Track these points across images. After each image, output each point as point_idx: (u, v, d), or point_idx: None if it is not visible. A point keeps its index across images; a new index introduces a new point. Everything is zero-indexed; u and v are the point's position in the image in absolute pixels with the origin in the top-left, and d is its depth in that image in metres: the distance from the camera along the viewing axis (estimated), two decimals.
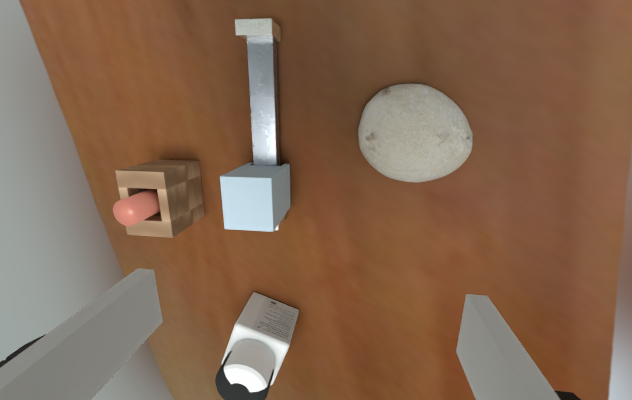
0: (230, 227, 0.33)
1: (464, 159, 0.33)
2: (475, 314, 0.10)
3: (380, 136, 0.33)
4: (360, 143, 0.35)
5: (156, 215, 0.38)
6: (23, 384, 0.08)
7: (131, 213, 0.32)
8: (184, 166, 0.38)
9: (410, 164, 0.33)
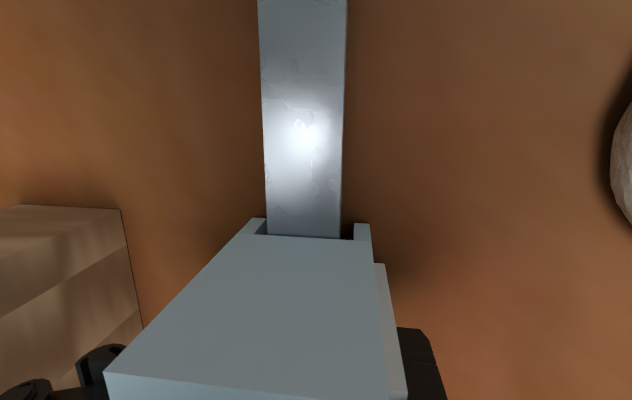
0: None
1: None
2: None
3: None
4: None
5: None
6: None
7: None
8: (50, 241, 0.12)
9: None
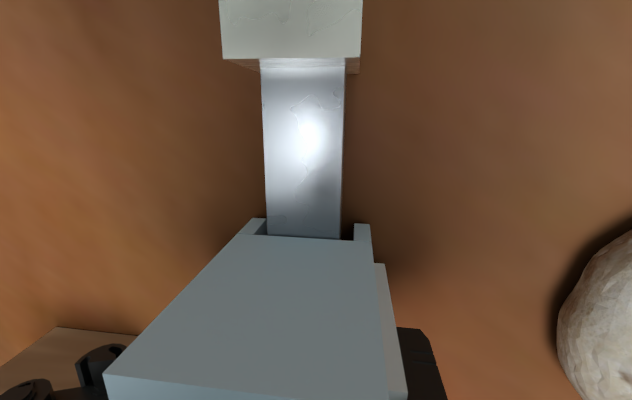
0: None
1: None
2: None
3: None
4: (579, 365, 0.12)
5: None
6: None
7: None
8: None
9: None
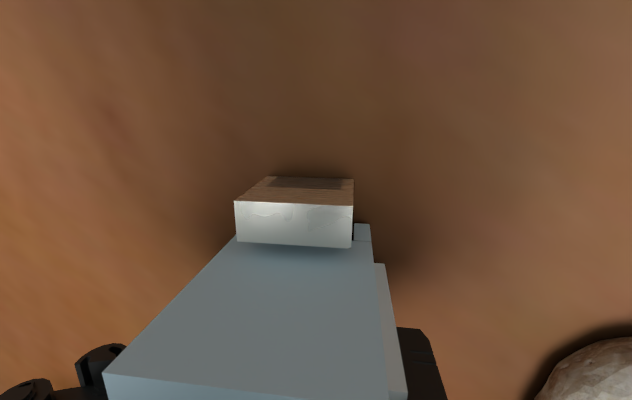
0: None
1: None
2: None
3: None
4: None
5: None
6: None
7: None
8: None
9: None
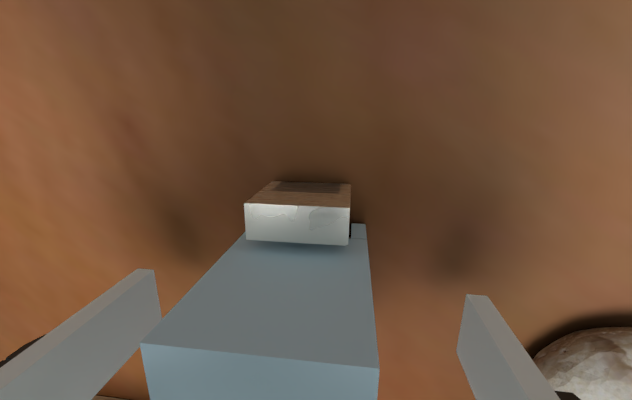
0: None
1: None
2: (475, 314, 0.10)
3: None
4: None
5: None
6: (23, 384, 0.08)
7: None
8: None
9: None
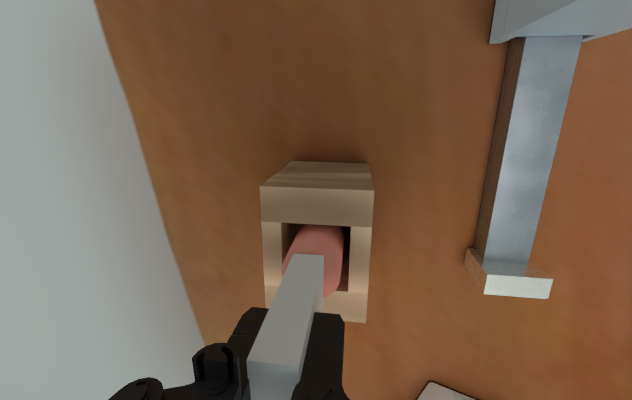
0: None
1: None
2: (305, 267, 0.13)
3: None
4: None
5: None
6: None
7: None
8: None
9: None
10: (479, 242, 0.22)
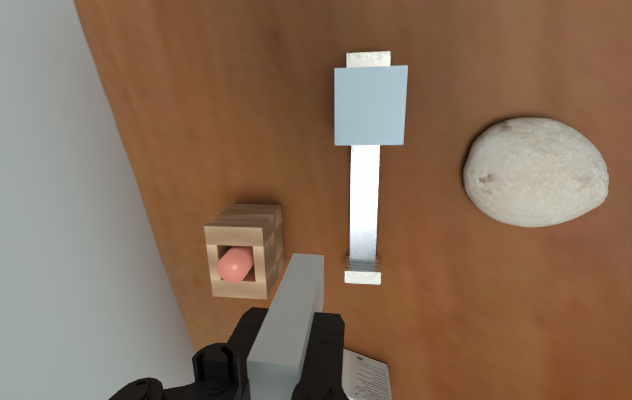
0: (343, 142, 0.25)
1: (600, 203, 0.28)
2: (305, 267, 0.13)
3: (501, 179, 0.29)
4: (468, 183, 0.31)
5: None
6: None
7: (237, 269, 0.29)
8: (273, 215, 0.33)
9: (537, 210, 0.28)
10: None
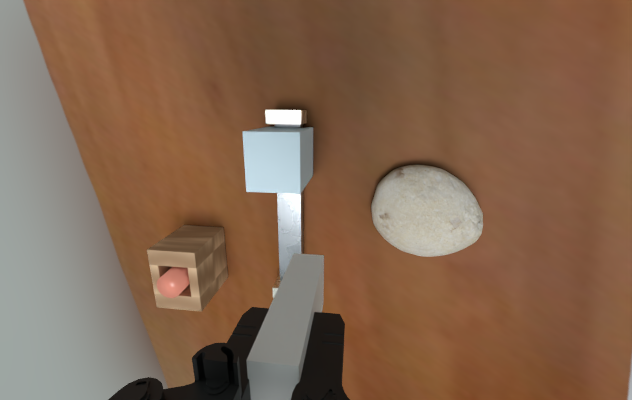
0: (252, 189, 0.30)
1: (475, 241, 0.34)
2: (305, 267, 0.13)
3: (394, 218, 0.34)
4: (373, 218, 0.37)
5: None
6: None
7: (173, 287, 0.35)
8: (211, 238, 0.39)
9: (422, 245, 0.34)
10: None
